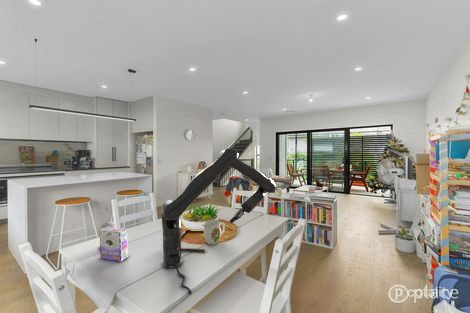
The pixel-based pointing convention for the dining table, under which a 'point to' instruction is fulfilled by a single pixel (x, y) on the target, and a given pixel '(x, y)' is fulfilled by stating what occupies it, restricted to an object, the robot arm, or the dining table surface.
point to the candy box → (113, 244)
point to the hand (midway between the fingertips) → (230, 222)
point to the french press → (107, 224)
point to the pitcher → (212, 231)
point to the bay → (191, 248)
